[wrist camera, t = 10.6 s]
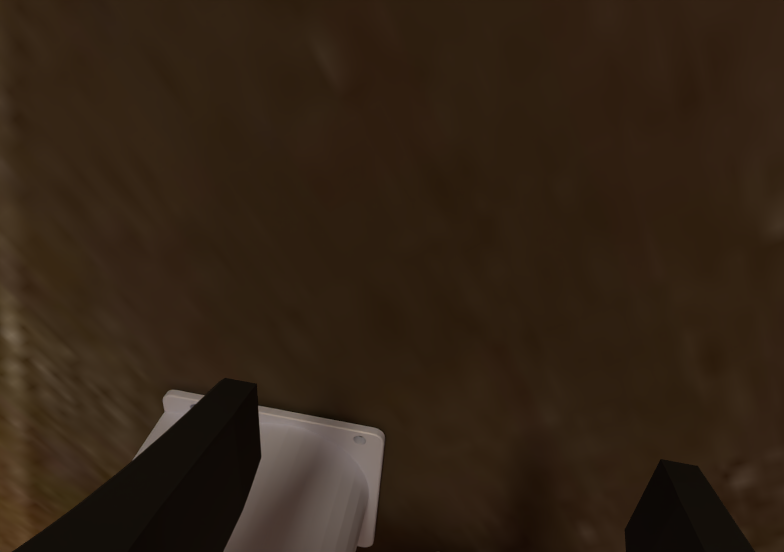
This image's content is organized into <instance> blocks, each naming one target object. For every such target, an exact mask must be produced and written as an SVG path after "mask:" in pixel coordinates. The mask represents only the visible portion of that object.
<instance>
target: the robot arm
mask: <svg viewBox="0 0 784 552" xmlns="http://www.w3.org/2000/svg"><path fill="white" fill-rule="evenodd" d="M163 405H164V410H165V412H164V414H163V415H162V417H161V418H160V420H159V421H158V423H157V424H156V426H155V427H154V429H153V430H152V432H151V433H150V435H149V436H148V438H147V439H146V441H145V442H144V444H143V445H142V447H141V448H140V450H139V451H138V453H137V454H136V456H135V457H134V459H133V460H132V461H131V462H130V463H129V464H128V465H127V466H125V467H124V468H123V469H122V470H121V471H119V472H118V473H117V474H116V475H114V476H113V477H112V478H111V479H109V480H108V481H107V482H106V483H104V484H103V485H102V486H101V487H99V488H98V489H97V490H96V491H94V492H93V493H92V494H91V495H89V496H88V497H87V498H86V499H84V500H83V501H82V502H81V503H79V504H78V505H77V506H75V507H74V508H73V509H71V510H70V511H69V512H67V513H66V514H65V515H63V516H62V517H61V518H59V519H58V520H57V521H55V522H54V523H52V524H51V525H50V526H48V527H47V528H45V529H44V530H43V531H41V532H40V533H38V534H37V535H36V536H34V537H33V538H31V539H30V540H28V541H27V542H25V543H24V544H23V545H21V546H20V547H18V548H17V549H15V550H14V551H12V552H356V549H357V546H360V547H370V546H371V545H372V544H373V542H374V537H375V528H376V519H377V509H378V500H379V491H380V482H381V473H382V463H383V454H384V445H385V435H384V433H383V432H382V431H381V430H379V429H377V428H374V427H368V426H363V425H358V424H353V423H347V422H342V421H337V420H332V419H326V418H321V417H316V416H311V415H305V414H300V413H295V412H290V411H284V410H279V409H274V408H269V407H263V406H258V396H257V384H255V383H250V382H244V381H239V380H233V379H228V378H224V379H223V380H221V381H220V382H218V383H217V384H216V385H215V386H214V387H213V388H212V389H211V390H210V391H209V392H208V393H207V394H206V395H200V394H195V393H190V392H184V391H179V390H170V391H168V392H167V393H166V395H165V396H164V398H163ZM360 436H362V437H360ZM625 542H626V552H755V551H754V549H753V548H752V546H751V545H750V543H749V542H748V540H747V539H746V537H745V536H744V534H743V533H742V532H741V530H740V529H739V527H738V526H737V524H736V523H735V521H734V520H733V518H732V517H731V515H730V514H729V512H728V511H727V509H726V508H725V506H724V505H723V503H722V502H721V500H720V499H719V497H718V496H717V494H716V493H715V491H714V490H713V488H712V487H711V485H710V484H709V482H708V481H707V479H706V478H705V476H704V475H703V473H702V472H701V470H700V469H699V467H698V466H694V465H689V464H684V463H678V462H673V461H668V460H662V459H661V460H660V462H659V464H658V466H657V468H656V470H655V471H654V473H653V475H652V477H651V479H650V481H649V483H648V485H647V487H646V489H645V491H644V493H643V495H642V497H641V499H640V501H639V503H638V505H637V507H636V509H635V511H634V513H633V515H632V517H631V519H630V520H629V522H628V524H627V526H626V528H625Z"/></svg>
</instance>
